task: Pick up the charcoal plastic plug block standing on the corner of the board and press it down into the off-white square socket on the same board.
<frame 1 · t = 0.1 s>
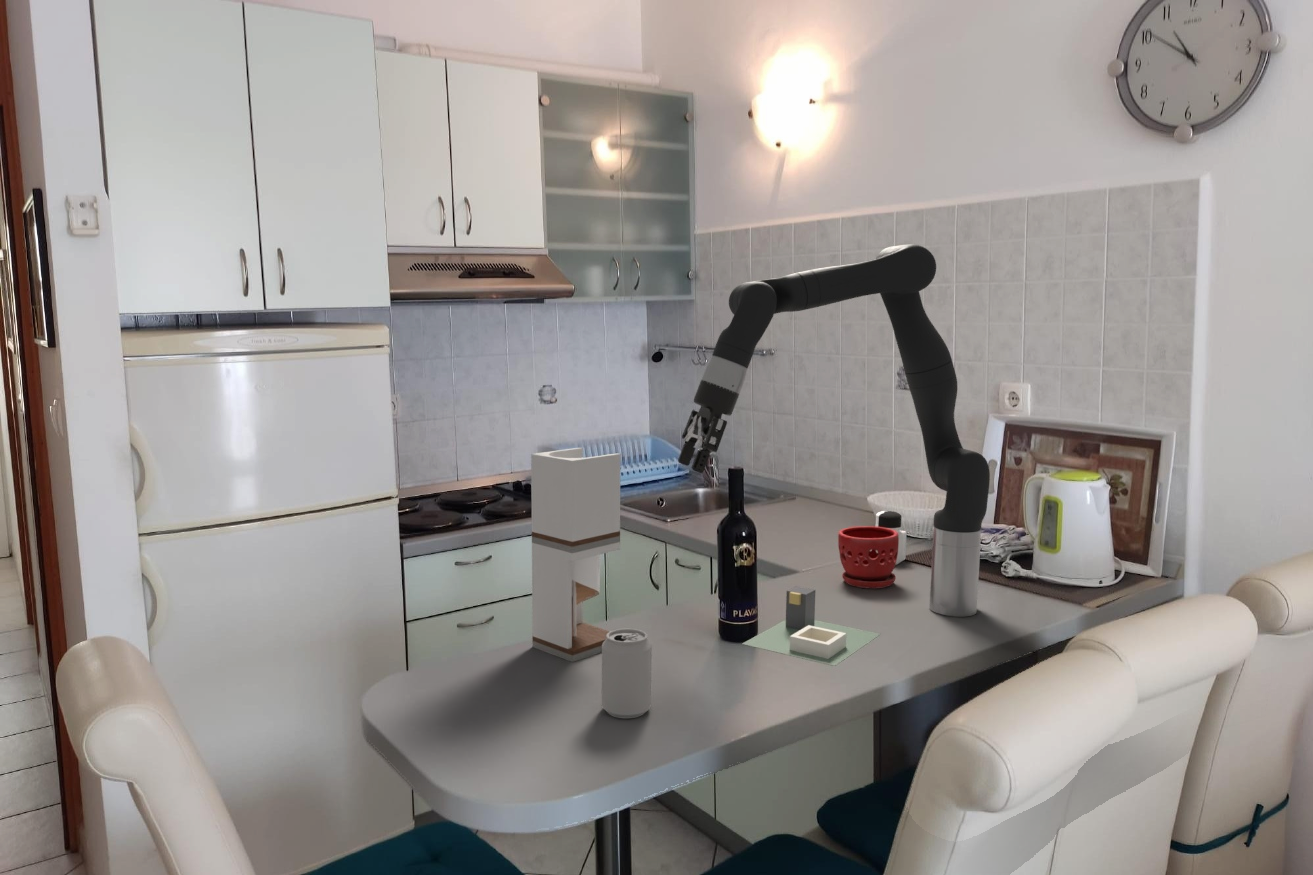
hand: (689, 467, 178), 31 cm above the counter, tool tilted 20°, fingers open, 8 cm apart
plant pot: (866, 584, 215), on the counter
can: (626, 711, 146), on the counter
board: (812, 645, 175), on the counter
white tall box: (576, 647, 173), on the counter
plug: (800, 626, 182), point 1 cm above the counter, touching board
medicine bottle: (886, 561, 235), on the counter
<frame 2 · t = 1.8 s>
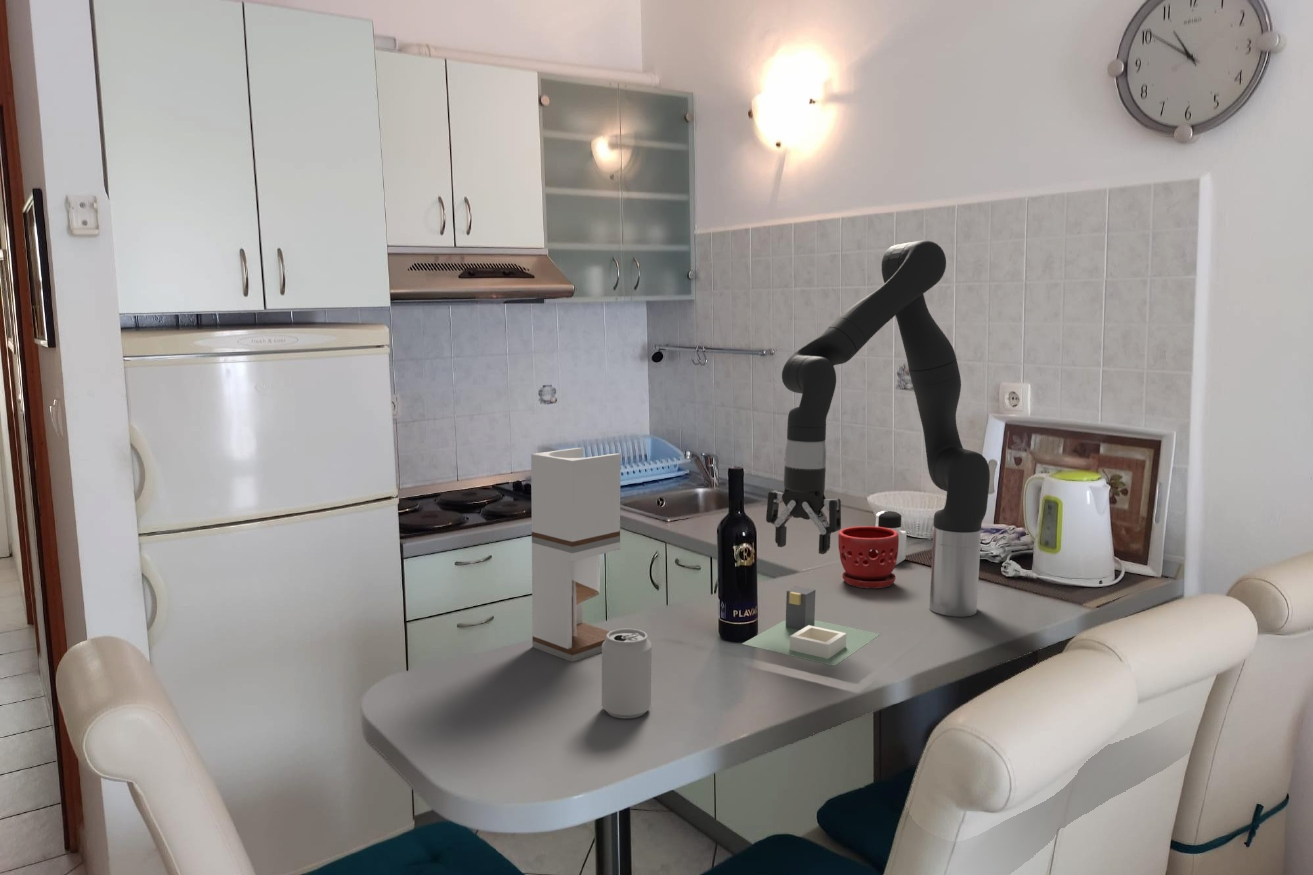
hand: (801, 549, 180), 16 cm above the counter, tool pointing down, fingers open, 8 cm apart
nothing on the counter moved.
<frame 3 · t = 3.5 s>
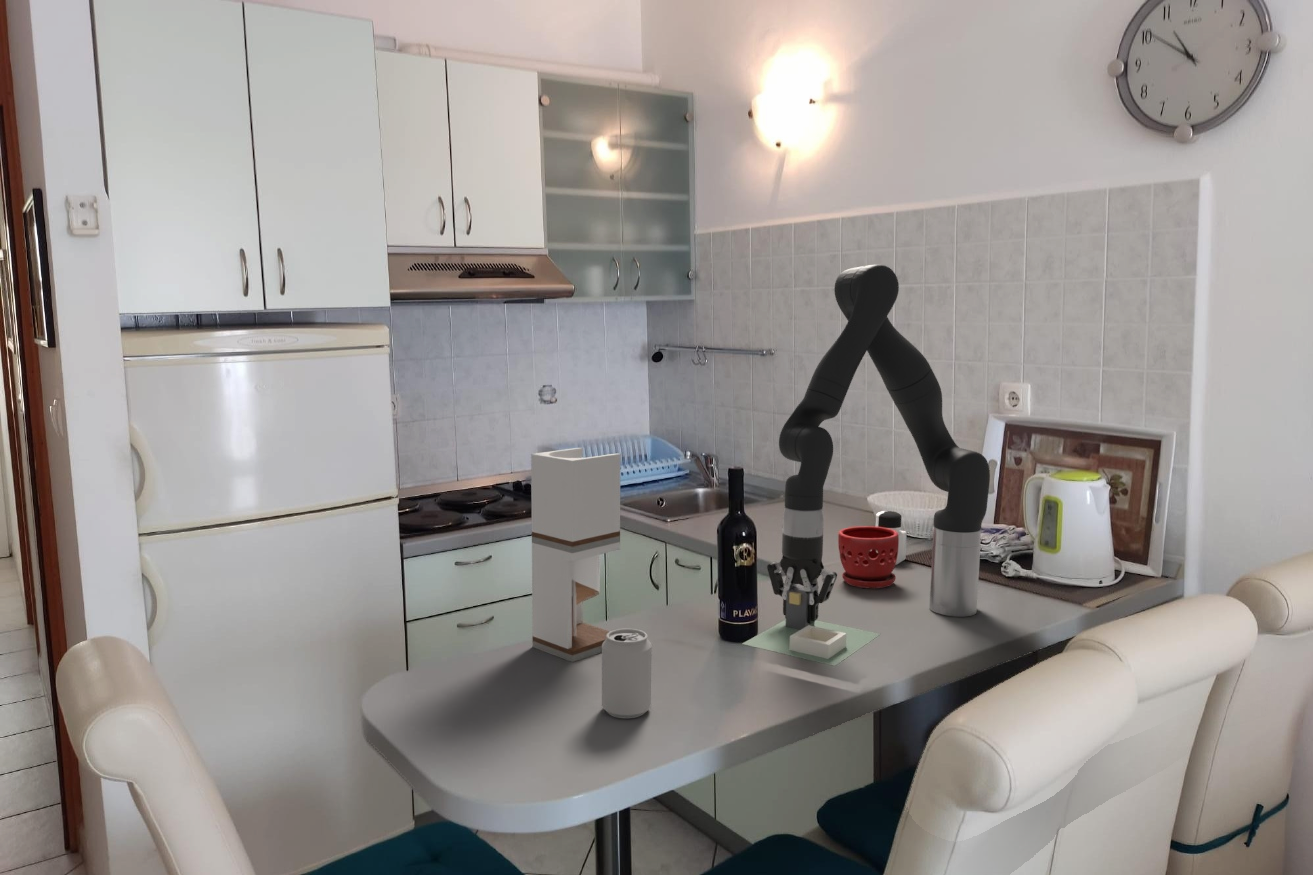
hand: (800, 619, 182), 2 cm above the counter, tool pointing down, fingers closed on plug, 4 cm apart
plug: (800, 626, 182), point 1 cm above the counter, touching board, gripper
everything else where it was.
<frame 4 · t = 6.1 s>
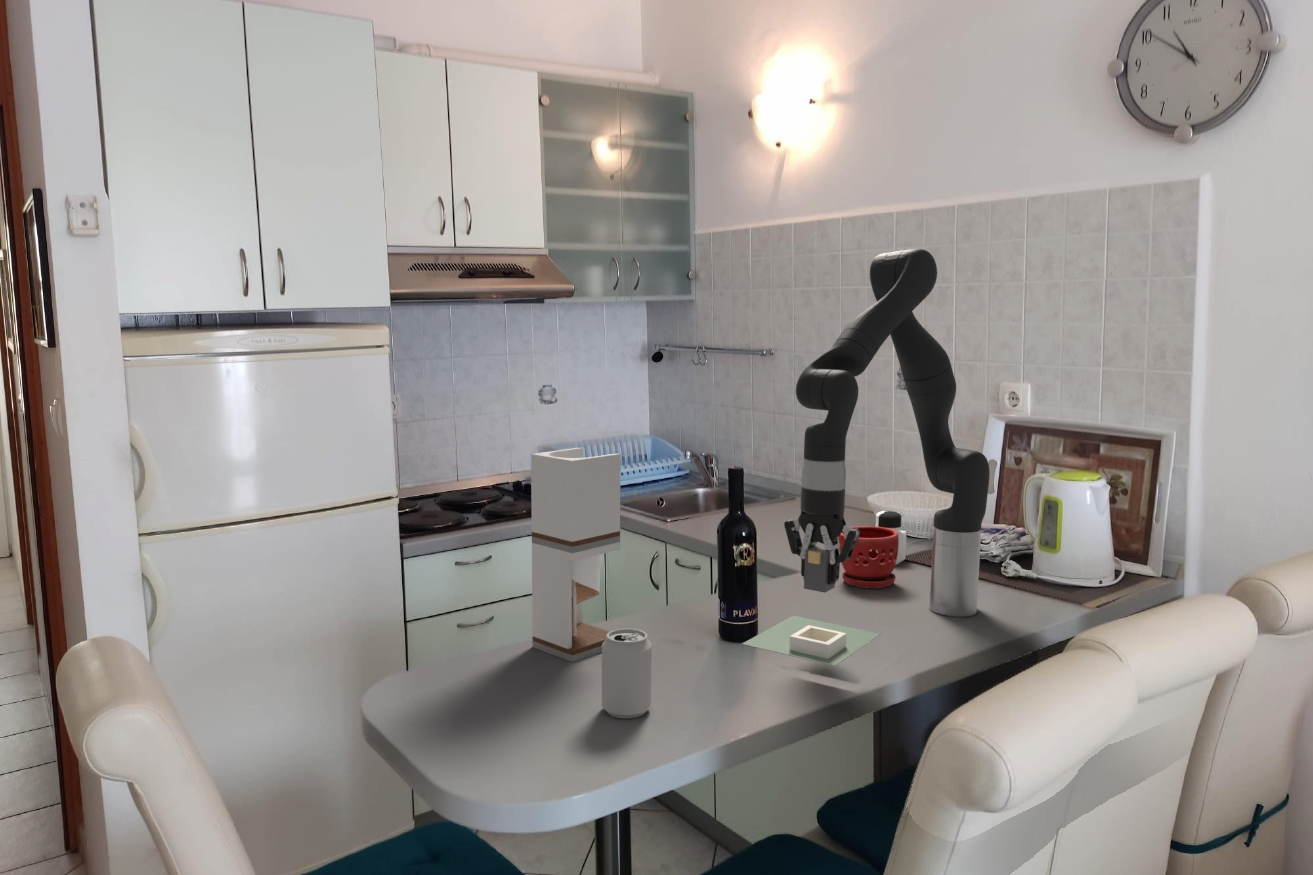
hand: (819, 581, 168), 13 cm above the counter, tool pointing down, fingers closed on plug, 4 cm apart
plug: (819, 588, 168), point 12 cm above the counter, touching gripper
everything else where it was.
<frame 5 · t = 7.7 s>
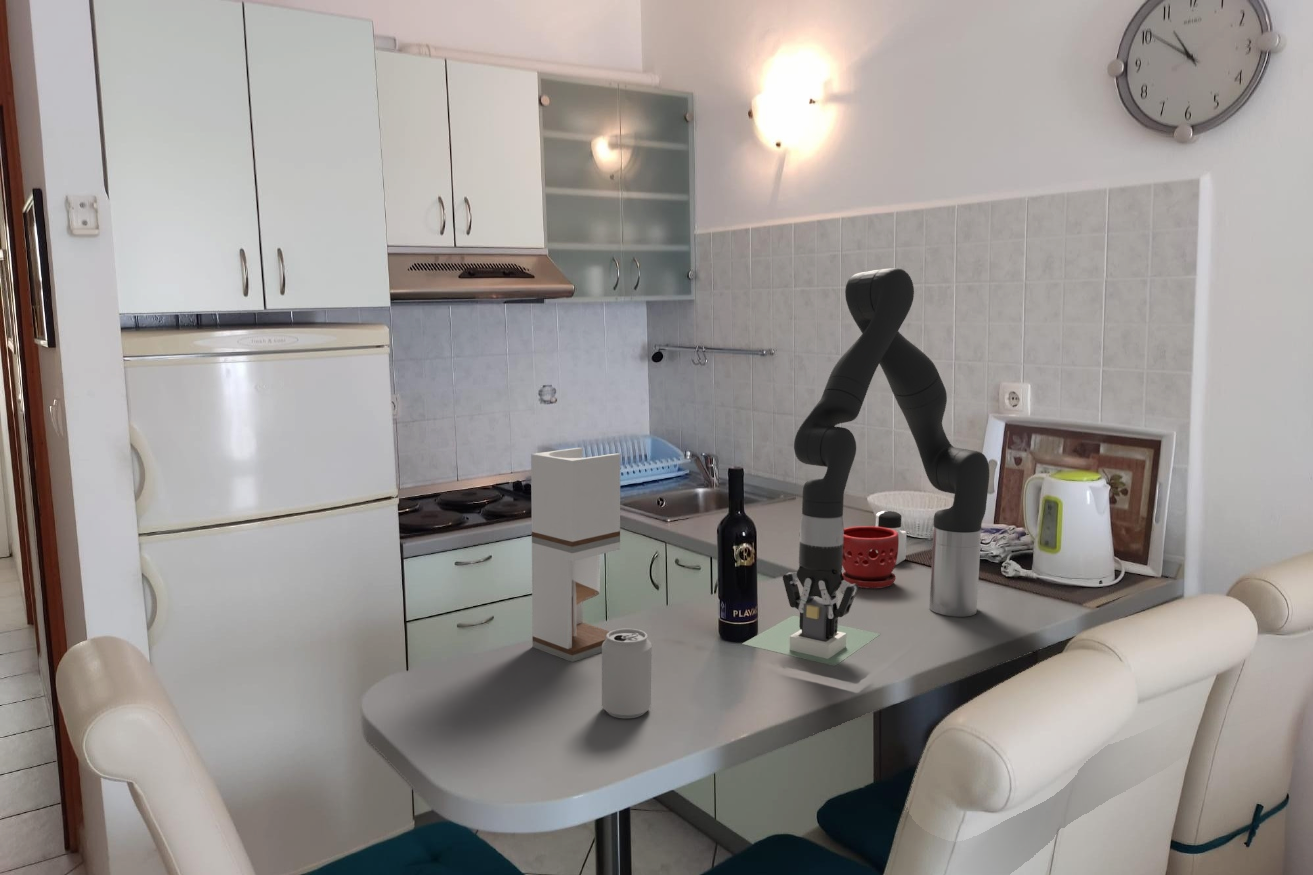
hand: (817, 634, 170), 4 cm above the counter, tool pointing down, fingers closed on plug, 4 cm apart
plug: (817, 641, 170), point 2 cm above the counter, touching gripper
everything else where it was.
when the fingers open (4 cm above the counter, at t = 9.0 s): plug stays where it is, resting on board.
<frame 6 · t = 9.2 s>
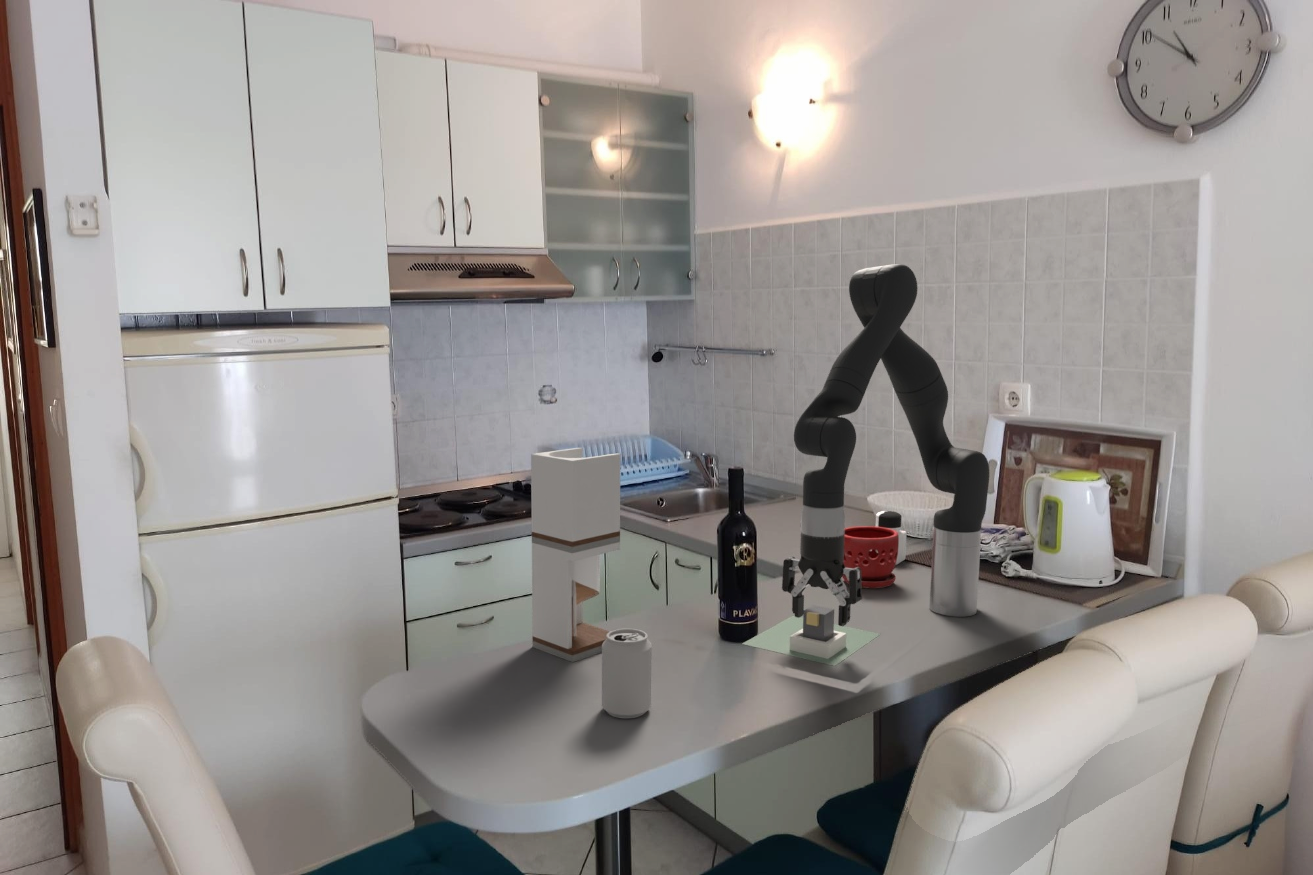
hand: (820, 620, 169), 6 cm above the counter, tool pointing down, fingers open, 8 cm apart
plug: (817, 648, 170), point 1 cm above the counter, touching board
everything else where it was.
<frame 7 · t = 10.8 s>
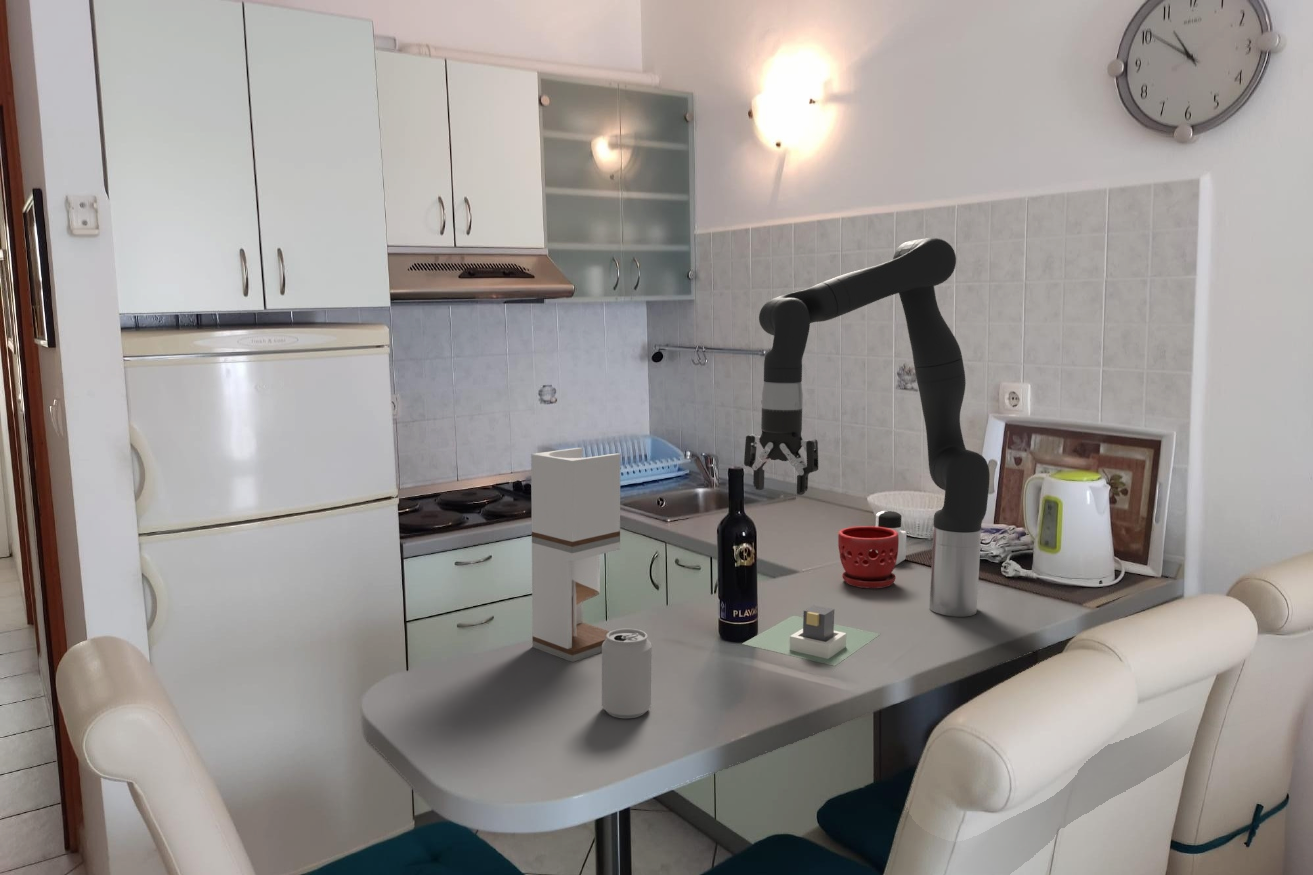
hand: (779, 491, 181), 26 cm above the counter, tool pointing down, fingers open, 8 cm apart
nothing on the counter moved.
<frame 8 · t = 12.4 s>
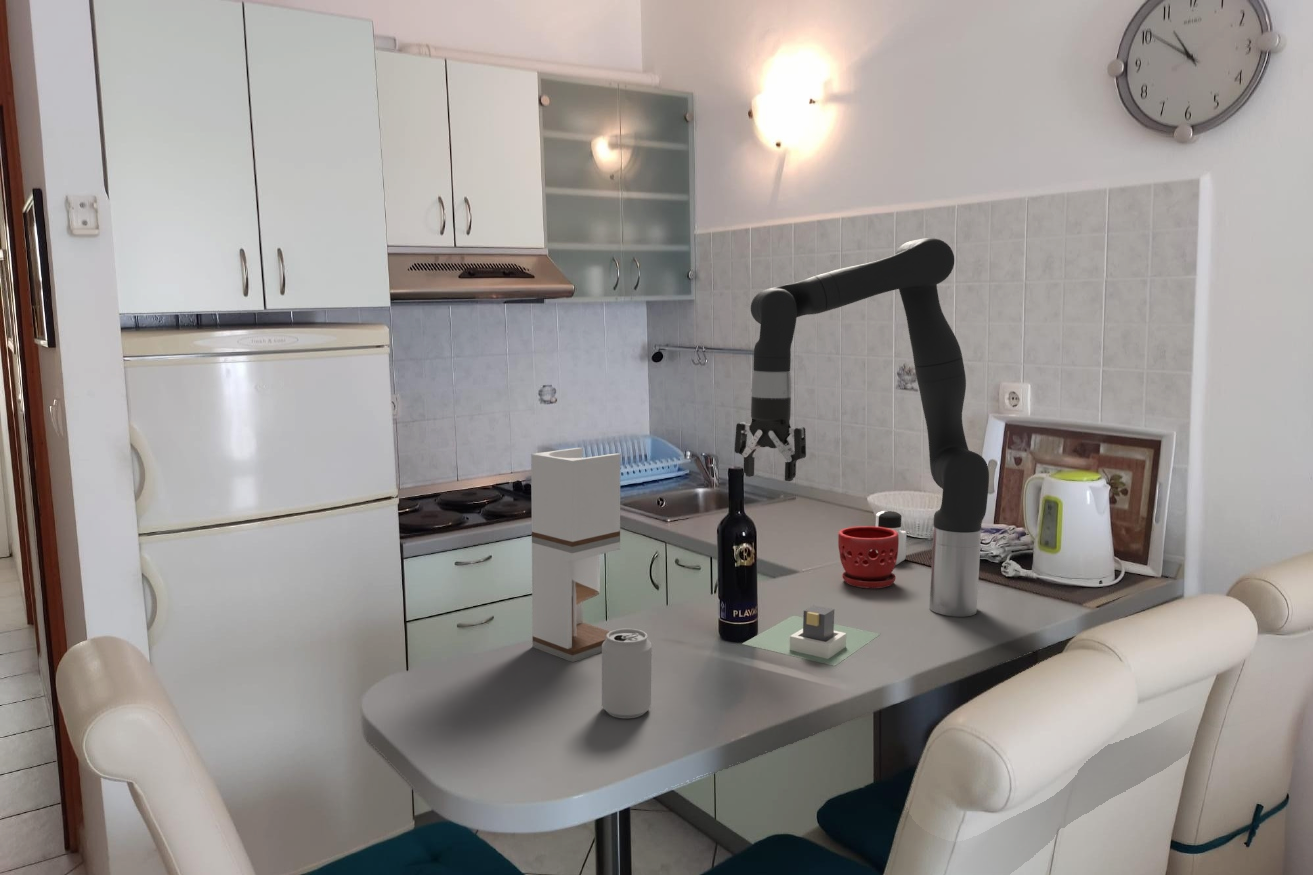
hand: (769, 478, 186), 28 cm above the counter, tool pointing down, fingers open, 8 cm apart
nothing on the counter moved.
at the end: plug 0.3 cm from the target spot on the board, point 1.3 cm above the board's base; plug tilted 0°; the gripper is holding nothing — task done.
